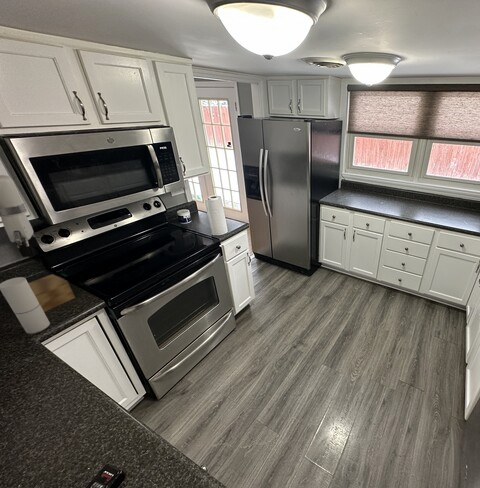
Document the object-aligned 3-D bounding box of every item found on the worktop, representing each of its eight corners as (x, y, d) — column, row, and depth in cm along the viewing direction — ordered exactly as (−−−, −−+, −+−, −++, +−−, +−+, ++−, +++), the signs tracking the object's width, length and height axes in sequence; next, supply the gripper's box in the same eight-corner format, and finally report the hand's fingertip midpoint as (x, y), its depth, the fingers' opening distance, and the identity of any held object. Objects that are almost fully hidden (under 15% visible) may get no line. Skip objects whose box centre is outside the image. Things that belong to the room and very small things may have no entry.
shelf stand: (38, 314, 121) (29, 296, 116) (23, 305, 126) (13, 288, 121) (75, 297, 132) (67, 281, 128) (60, 290, 137) (52, 274, 133)
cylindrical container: (31, 340, 107) (0, 289, 96) (26, 332, 110) (-4, 283, 100) (54, 329, 112) (28, 281, 102) (49, 323, 116) (22, 275, 105)
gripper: (2, 205, 101) (22, 245, 108) (-12, 218, 89) (12, 262, 96) (30, 202, 105) (47, 241, 113) (20, 214, 93) (41, 257, 100)
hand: (31, 251), depth 104 cm, fingers open, 9 cm apart
